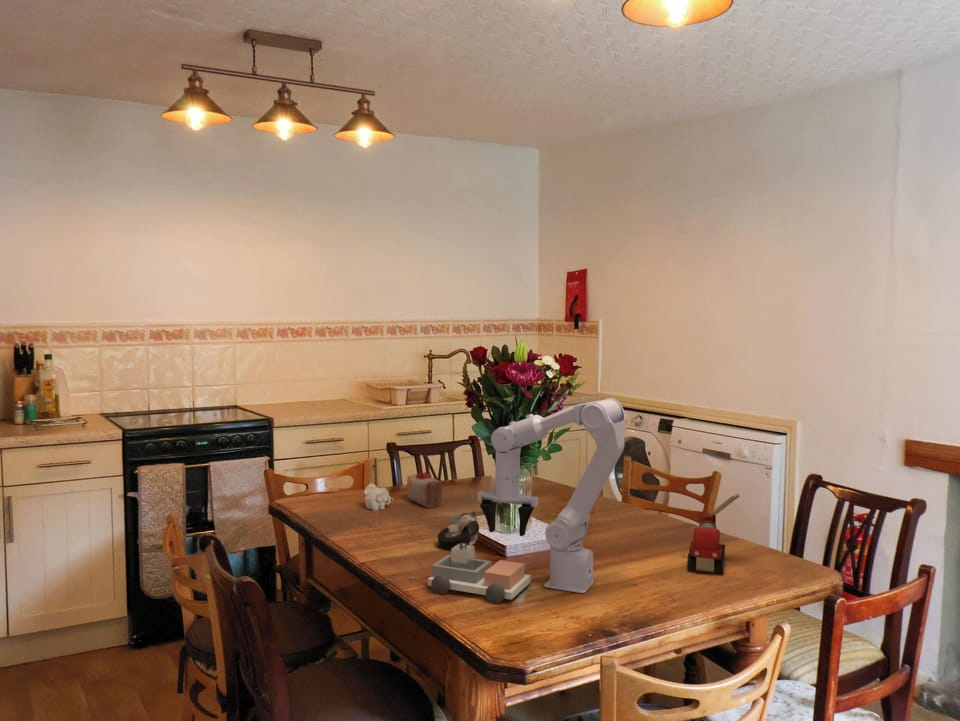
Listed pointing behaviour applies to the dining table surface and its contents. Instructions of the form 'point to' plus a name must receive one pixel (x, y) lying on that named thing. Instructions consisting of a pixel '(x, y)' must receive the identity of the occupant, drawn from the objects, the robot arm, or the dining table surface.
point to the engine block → (463, 556)
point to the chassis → (480, 578)
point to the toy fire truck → (708, 543)
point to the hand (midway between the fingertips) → (507, 533)
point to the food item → (424, 490)
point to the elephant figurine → (376, 497)
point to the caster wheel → (460, 531)
